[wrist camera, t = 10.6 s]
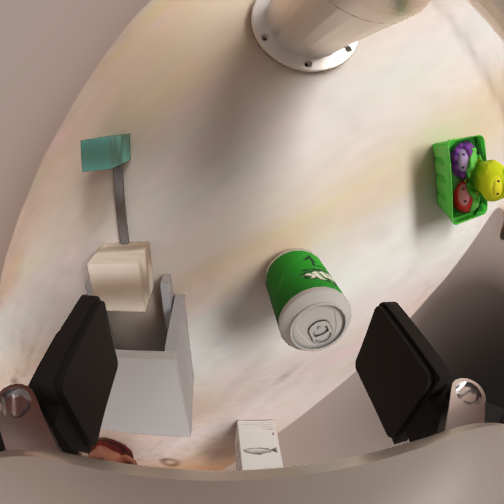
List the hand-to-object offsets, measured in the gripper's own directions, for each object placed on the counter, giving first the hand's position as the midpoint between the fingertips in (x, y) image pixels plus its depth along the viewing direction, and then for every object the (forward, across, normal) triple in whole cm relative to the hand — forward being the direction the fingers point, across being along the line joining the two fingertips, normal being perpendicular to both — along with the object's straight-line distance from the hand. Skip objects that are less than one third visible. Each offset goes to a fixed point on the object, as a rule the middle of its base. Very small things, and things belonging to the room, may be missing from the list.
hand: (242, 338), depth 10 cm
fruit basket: (+27, -31, -5) cm, 42 cm away
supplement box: (+26, -7, +46) cm, 54 cm away
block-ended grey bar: (+26, +12, +5) cm, 29 cm away
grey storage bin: (+26, +11, +22) cm, 36 cm away
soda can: (+26, -9, +11) cm, 30 cm away
